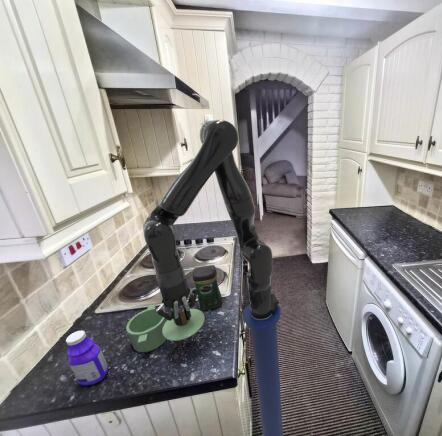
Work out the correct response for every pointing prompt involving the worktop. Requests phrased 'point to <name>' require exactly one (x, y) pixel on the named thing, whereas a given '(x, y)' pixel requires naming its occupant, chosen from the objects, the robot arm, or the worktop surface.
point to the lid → (183, 325)
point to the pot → (146, 330)
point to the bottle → (86, 359)
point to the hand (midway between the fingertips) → (183, 321)
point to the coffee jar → (207, 287)
